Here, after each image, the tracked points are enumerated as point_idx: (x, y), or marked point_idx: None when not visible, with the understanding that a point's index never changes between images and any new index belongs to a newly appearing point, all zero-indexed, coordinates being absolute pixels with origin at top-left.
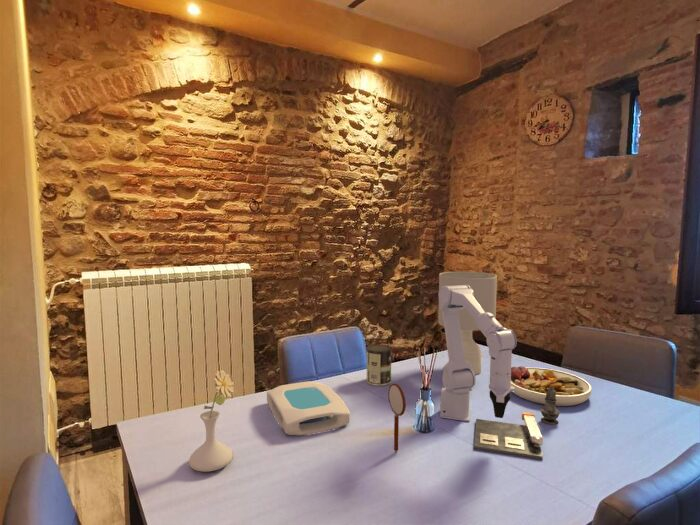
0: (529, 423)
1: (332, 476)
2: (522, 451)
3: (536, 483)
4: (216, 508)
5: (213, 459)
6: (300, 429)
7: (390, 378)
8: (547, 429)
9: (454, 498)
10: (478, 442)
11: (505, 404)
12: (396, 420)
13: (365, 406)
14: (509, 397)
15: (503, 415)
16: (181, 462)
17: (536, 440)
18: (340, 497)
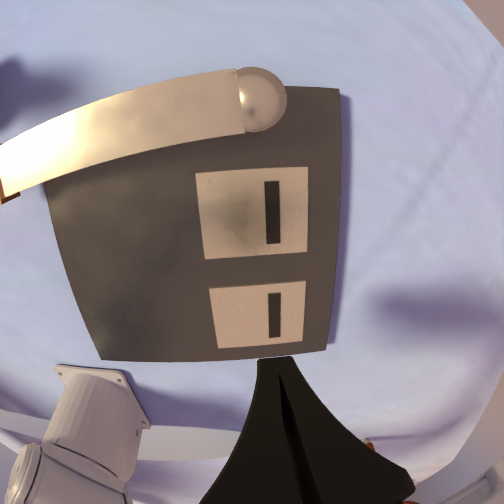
0: (72, 154)
1: (423, 445)
2: (323, 176)
3: (471, 150)
4: (450, 454)
5: None
6: None
7: None
8: (28, 85)
9: (497, 323)
10: (295, 344)
11: (359, 444)
12: None
13: (192, 491)
14: (394, 497)
15: (297, 367)
16: None
17: (285, 105)
18: (461, 420)
